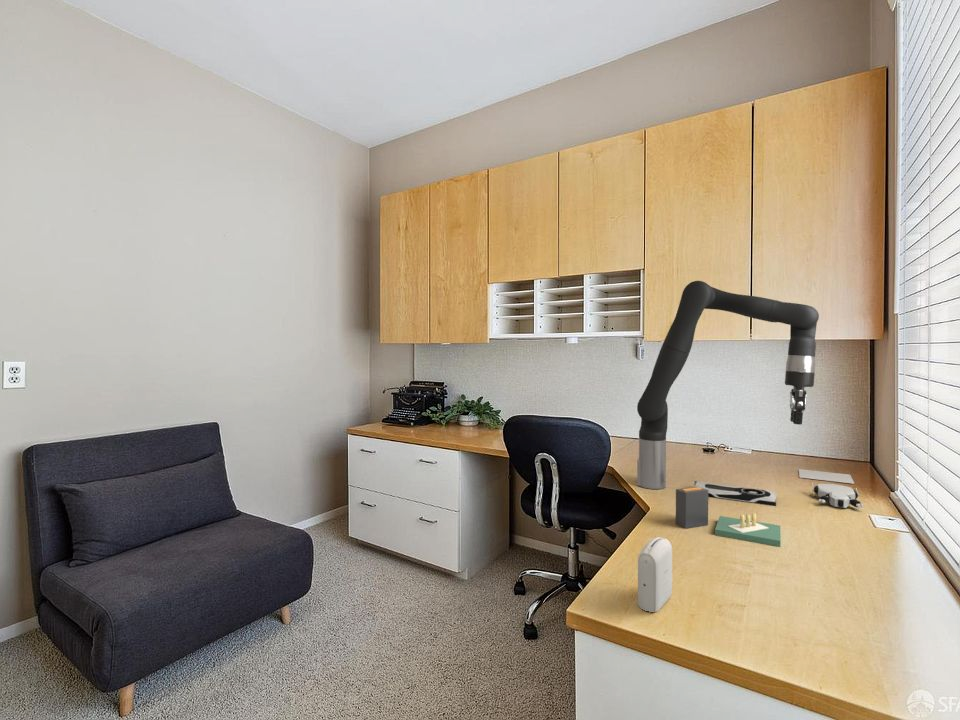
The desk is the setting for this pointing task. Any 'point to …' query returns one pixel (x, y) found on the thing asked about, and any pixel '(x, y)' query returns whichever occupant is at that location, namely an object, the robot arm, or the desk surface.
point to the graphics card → (739, 493)
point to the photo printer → (654, 574)
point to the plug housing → (691, 507)
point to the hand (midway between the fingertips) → (795, 423)
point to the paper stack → (826, 476)
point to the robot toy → (837, 495)
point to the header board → (748, 530)
